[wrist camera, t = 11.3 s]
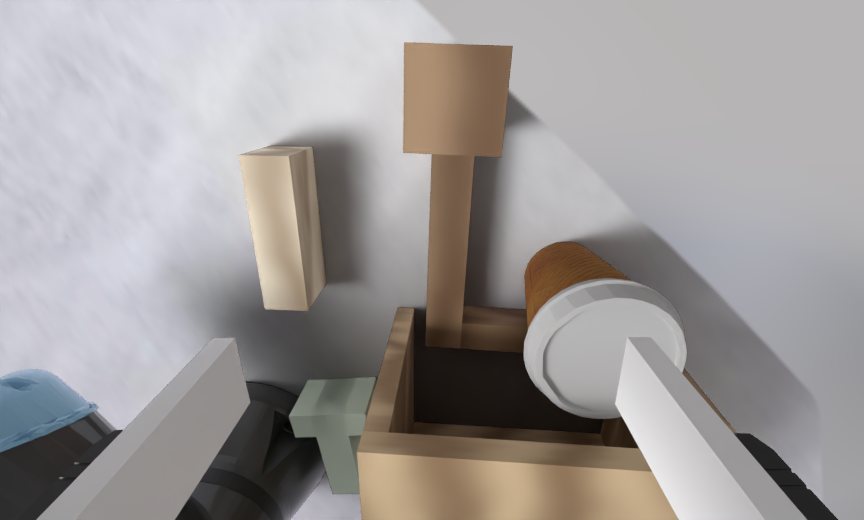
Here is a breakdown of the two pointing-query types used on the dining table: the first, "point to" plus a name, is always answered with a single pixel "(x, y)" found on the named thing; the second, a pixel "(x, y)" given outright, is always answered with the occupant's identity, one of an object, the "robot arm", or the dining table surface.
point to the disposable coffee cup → (589, 327)
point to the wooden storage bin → (494, 461)
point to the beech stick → (285, 225)
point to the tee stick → (335, 425)
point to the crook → (457, 179)
